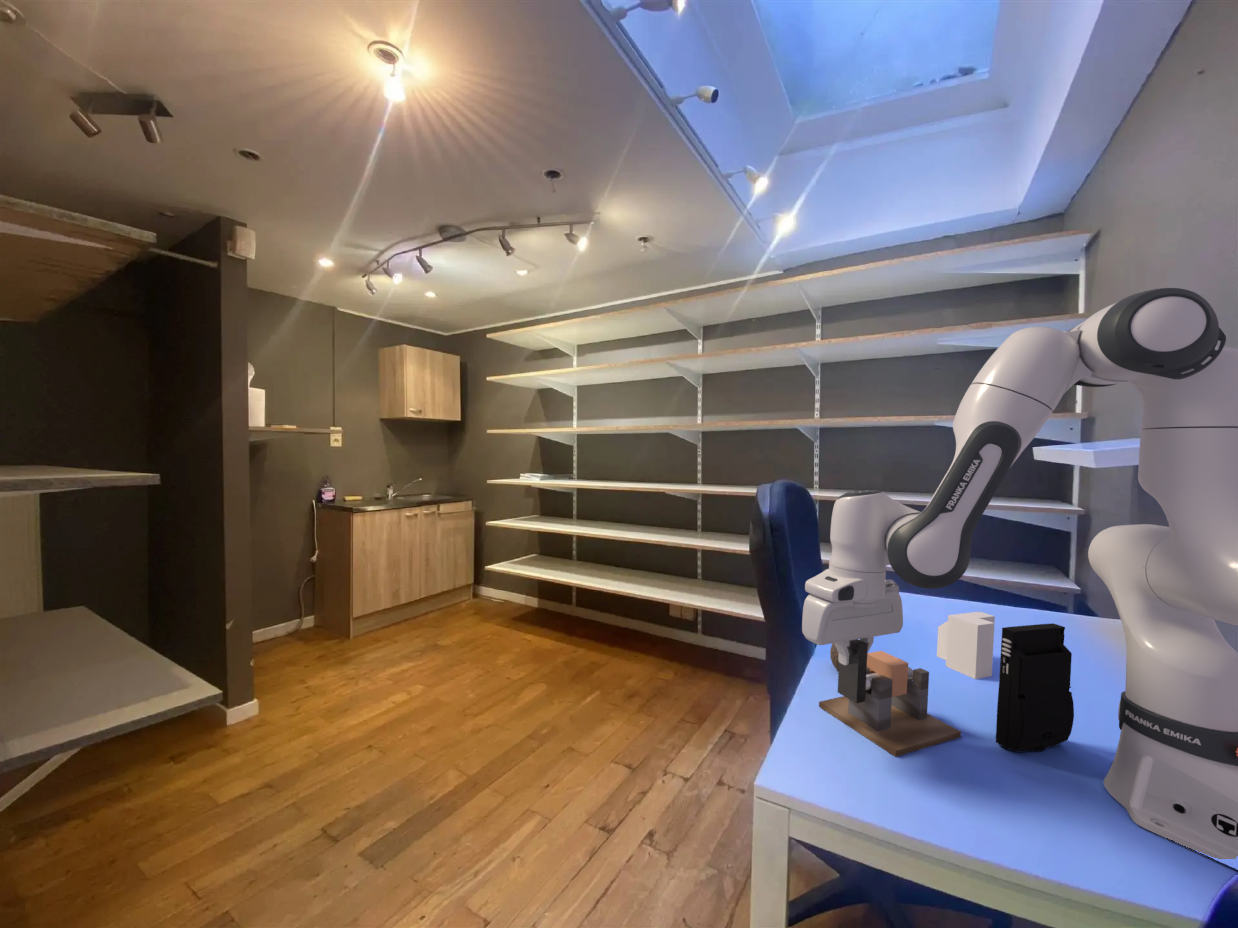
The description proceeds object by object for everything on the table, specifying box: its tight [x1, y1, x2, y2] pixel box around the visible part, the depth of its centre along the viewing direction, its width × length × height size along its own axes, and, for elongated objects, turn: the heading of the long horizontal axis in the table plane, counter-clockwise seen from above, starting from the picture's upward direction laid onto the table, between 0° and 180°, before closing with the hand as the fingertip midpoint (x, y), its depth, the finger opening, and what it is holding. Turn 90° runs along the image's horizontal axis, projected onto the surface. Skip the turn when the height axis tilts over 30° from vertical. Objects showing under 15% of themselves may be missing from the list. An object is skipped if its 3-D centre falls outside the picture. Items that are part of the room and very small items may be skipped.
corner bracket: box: [936, 611, 996, 680], centre depth 113 cm, size 11×11×12 cm
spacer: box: [867, 650, 909, 697], centre depth 87 cm, size 5×4×6 cm
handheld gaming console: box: [995, 623, 1075, 753], centre depth 81 cm, size 12×5×20 cm, turn 105°
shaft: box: [837, 639, 914, 703], centre depth 86 cm, size 4×15×10 cm, turn 112°
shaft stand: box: [818, 657, 962, 758], centre depth 87 cm, size 16×16×10 cm
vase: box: [829, 643, 839, 672], centre depth 108 cm, size 7×7×9 cm
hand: (852, 662), depth 84 cm, fingers closed on shaft, 2 cm apart
